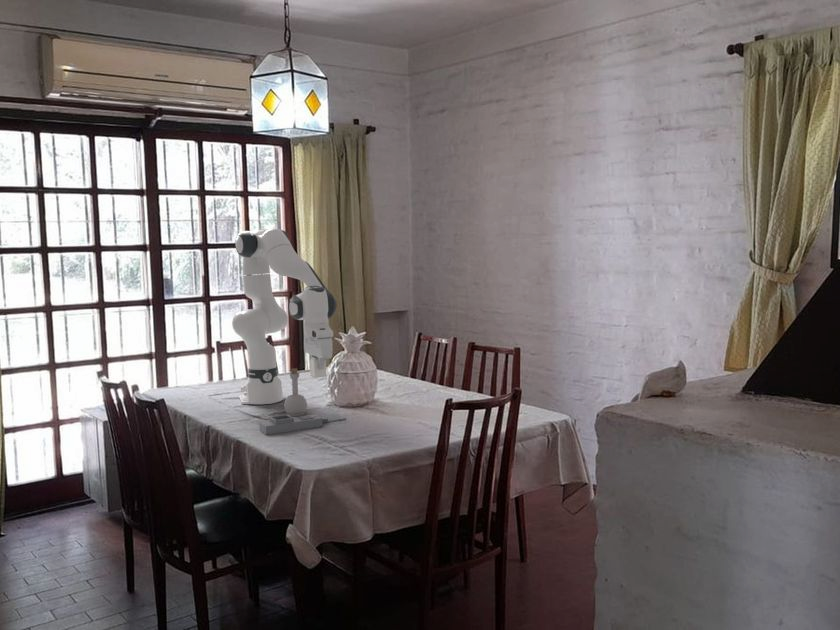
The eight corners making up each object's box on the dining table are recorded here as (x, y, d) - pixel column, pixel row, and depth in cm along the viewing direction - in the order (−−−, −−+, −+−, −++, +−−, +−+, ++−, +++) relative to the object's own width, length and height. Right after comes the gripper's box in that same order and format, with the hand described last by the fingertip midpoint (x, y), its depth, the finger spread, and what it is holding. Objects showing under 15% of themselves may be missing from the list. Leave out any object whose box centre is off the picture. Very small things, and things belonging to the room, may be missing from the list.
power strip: (259, 430, 279) (259, 418, 279) (324, 421, 291) (324, 409, 291) (265, 434, 273) (265, 422, 273) (331, 424, 285) (331, 412, 284)
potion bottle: (285, 417, 299) (283, 370, 297) (284, 412, 308) (282, 366, 306) (308, 415, 301) (306, 369, 299) (307, 410, 309) (305, 365, 307)
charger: (310, 375, 291) (309, 356, 290) (321, 374, 293) (321, 355, 293) (314, 377, 287) (314, 358, 286) (326, 376, 289) (325, 357, 289)
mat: (310, 418, 296) (310, 416, 296) (335, 414, 301) (335, 413, 301) (320, 423, 288) (320, 421, 288) (345, 419, 292) (345, 418, 292)
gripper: (299, 328, 296) (300, 364, 298) (318, 334, 278) (319, 372, 280) (315, 327, 299) (316, 363, 301) (335, 332, 281) (336, 371, 283)
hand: (318, 367), depth 290 cm, fingers closed on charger, 4 cm apart
